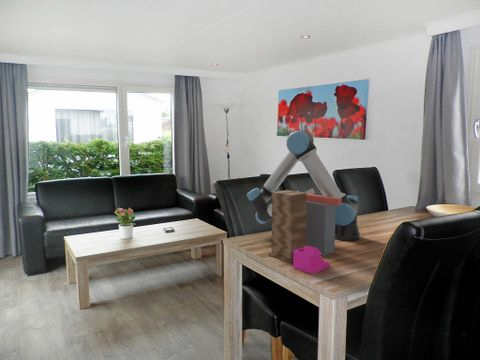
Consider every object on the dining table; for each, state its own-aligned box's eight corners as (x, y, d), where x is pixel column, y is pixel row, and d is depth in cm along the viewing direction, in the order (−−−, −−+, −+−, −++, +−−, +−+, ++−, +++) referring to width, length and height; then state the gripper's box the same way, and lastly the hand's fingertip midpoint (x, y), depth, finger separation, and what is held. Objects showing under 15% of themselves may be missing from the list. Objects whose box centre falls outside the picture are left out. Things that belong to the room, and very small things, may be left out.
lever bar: (293, 198, 197) (293, 192, 197) (297, 197, 199) (297, 192, 199) (337, 205, 178) (337, 199, 177) (341, 204, 180) (341, 198, 179)
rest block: (304, 249, 192) (304, 201, 189) (314, 246, 197) (315, 199, 194) (324, 255, 183) (325, 204, 180) (334, 252, 188) (335, 202, 185)
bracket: (313, 274, 160) (313, 249, 158) (293, 267, 167) (293, 244, 166) (329, 266, 168) (330, 243, 167) (310, 261, 175) (310, 238, 174)
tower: (268, 255, 183) (268, 192, 180) (285, 250, 191) (286, 189, 187) (291, 262, 173) (292, 195, 169) (308, 257, 181) (309, 192, 177)
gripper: (294, 211, 215) (323, 196, 199) (264, 218, 200) (293, 201, 184) (289, 199, 217) (317, 182, 201) (259, 204, 202) (287, 187, 186)
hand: (306, 191), depth 193 cm, fingers open, 10 cm apart
